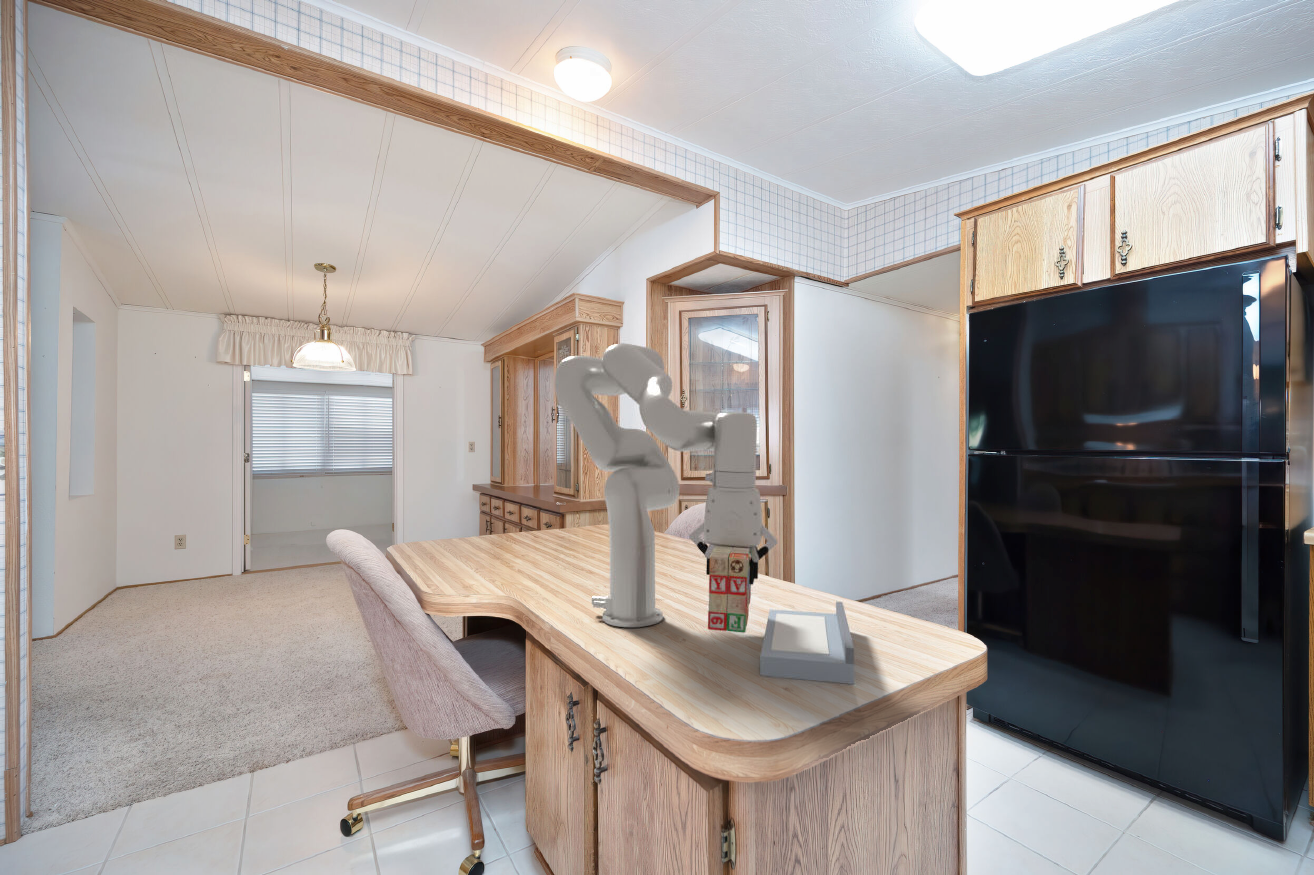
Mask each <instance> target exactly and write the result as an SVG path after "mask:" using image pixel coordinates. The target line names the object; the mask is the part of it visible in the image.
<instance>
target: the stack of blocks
mask: <svg viewBox="0 0 1314 875" xmlns="http://www.w3.org/2000/svg"><path fill="white" fill-rule="evenodd" d="M750 560H751V555H750V547H735V546H721V545H716V546H715V548H714V549H713V551H712V553H711V555H710V574H709V575H708V610H707V629H708V631H709V630H711V631H720V632H721V631H722V632H726V631H727V632H733V633H746V631H747V630H746V629H747V627H748V619H749V612H750V609H749V606H750V603H751V595H752V592H751V590H752V589H751V588H752V585H751V584H749V572H750V565H749V562H750Z"/></svg>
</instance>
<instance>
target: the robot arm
mask: <svg viewBox="0 0 1314 875" xmlns="http://www.w3.org/2000/svg"><path fill="white" fill-rule="evenodd" d="M670 376H671V375H669V374H668V373H667V372H665V364H664V360H663V358H662V356H661V354H660V353H659V352H658V351H656V350H655V349H653V348H650V347H647V346H641V345H637V344H631V343H616V344H613V345H610V346H609V347H608V348H606V350H605V351H604V353H603V354H602V357H595V356H588V355H573V356H567V357H566V358H563V359H562V360H561V361H560V362H559V364H558V365H557V367H556V370H555V373H554V382H553V385H554V392H555V396H556V399H557V402H558V403H559V406H560V408H561V409H562V411H563V412H564V414H565V415H566V417H567V418H568V419H569V421H570V422H571V424H572V425H573V426H574V429H575V430H576V432H577V435H578V436H579V438H580V440H581V442H582V444H583V445H584V447H585V449H586V451H587V452H588V455H589V456H590V458H591V460H592V462H593V463H594V465H595V466H596V468H598V469H599V470H601V471H603V472H612V473H610V475H608V477H607V479H606V480H605V484H604V488H603V490H604V492H603V493H604V501H605V506H606V510H607V511H606V512H607V516H608V529H609V530H608V531H609V532H608V534H609V536H608V538H609V540H608V541H609V543H608V544H609V595H606V596H602V595H600V596H599V595H593V596H592V598H591V605H592V607H593V608H599V609H600V608H602V609H604V611H603V612H602V621H603V622H604V623H606V624H608V625H610V626H614V627H621V628H641V627H648V626H652V625H655V624H658V623H660V622H661V621H662V620H663V618H664V616H663V615H664V614H663V611H662V610H661V609H659V608H658V607H656V538H655V537H656V536H655V529H654V525H653V523H652V520H651V518H650V516H649V514H648V513H649V511H657V510H663V509H667V508H670V507H671V506H673V505H674V504H675V503H676V502H677V501H678V498H679V495H680V482H679V478H678V476H677V474H676V472H675V471H674V469H673V467H672V466H671V463H670V462H669V461H668V459H667V458H666V456H665V454H664V452H663V451H662V449H661V448H660V446H659V444H658V443H657V441H656V440H655V439H654V437H656V439H658V441H660V442H661V443H662V444H663V445H665V446H666V447H668V448H669V449H671V450H673V451H677V452H713V470H712V472H709V473H705V478H704V480H705V481H706V482H709V483H711V484H712V487H709V488H708V489H707V490H708V491H707V495H706V500H705V507H704V508H705V509H704V517H703V518H704V520H703V523H702V524H700V525H699V526H698V527H697V528H696V529H695V530H694V531H692V532H691V533H690V534H689V539H690V540H691V541H692V542H693V543H694V544H695V546H696V547H697V548H698V550H699V551H700V552H701V553H702V554H703V555H704V558H705V559H706V566H705V568H706V576H709V574H710V555H711V553H712V551H713V549H714V548H715V546H716V545H721V546H735V547H750V555H751V560H750V562H749V565H750V572H749V584H751V586H752V585H754V582H755V580H758V578H759V561H760V560H761V559H762V558H763V557H765V556H766V555H767V554H768V553H769V552H770V551H771V550H772V549H773V548H774V547H775V546H776V545H777V544H778V539H777V538H776V537H775V536H774V535H773V533H772V532H770V530H769V529H767V527H766V526H765V525H764V524H763V514H762V512H763V511H762V501H761V493H760V490H759V489H757V488H756V483H757V482H756V475H757V473H756V471H757V466H756V465H757V437H758V432H757V431H758V420H757V417H756V416H755V415H754V414H752V413H750V412H740V411H732V412H731V411H728V412H727V411H725V412H719V413H718V412H713V411H702V410H689V409H687V410H685V409H683V408H681V407H680V406H678V405H677V404H676V403H675V402H673V401H672V400H671V399H670V398H669V397H670V395H671V393H672V391H673V380H672V378H671V377H670ZM625 394H626V395H627V396H628V397H630V399H632V400H633V401H634V402H635V403H636V404H638V407H639V408H638V409H639V415H640V418H641V420H642V423H643V424H644V427H646V429H647V430H648V431H649V432H650V433H651V434H652V435H653V436H654V437H653V436H652V435H650V434H649V433H648V432H646V431H645V430H644V429H638V428H624V427H622V426H620V425H619V424H617V422H616V421H615V419H614V417H613V416H612V414H611V412H610V410H609V409H608V407H607V406H605V405H604V404H603V403H602V402H601V401H600V400H599V399H598V398H596V397H595V396H594V395H598V396H608V397H613V396H620V395H625ZM701 534H703V539H702V538H701ZM762 537H763V538H764V539H765V540H766V541H767V542H765V544H764V545H763V546H761V547H760V548H759V549H758V546H759V545H760V544H761V541H762Z"/></svg>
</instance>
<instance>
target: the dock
mask: <svg viewBox="0 0 1314 875" xmlns="http://www.w3.org/2000/svg"><path fill="white" fill-rule="evenodd" d="M845 611H846V610H845V607H844V603H843V601H835V613H829V612H814V611H813V612H812V611H801V610H799V611H798V610H785V609H769V611H768V616H767V622H766V625H765V626H766V627H765V632H764V636H763V640H762V646H761V652H760V656H759V657H760V660H759V661H760V665H759V666H760V667H759V668H760V676H765V677H773V678H786V679H795V680H804V681H805V680H806V681H818V682H825V683H826V682H828V683H837V684H848V685H855V647H854V643H853V639H852V634H851V631H850V627H849V624H848V623H849V622H848V618H847V615H846V612H845Z"/></svg>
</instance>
